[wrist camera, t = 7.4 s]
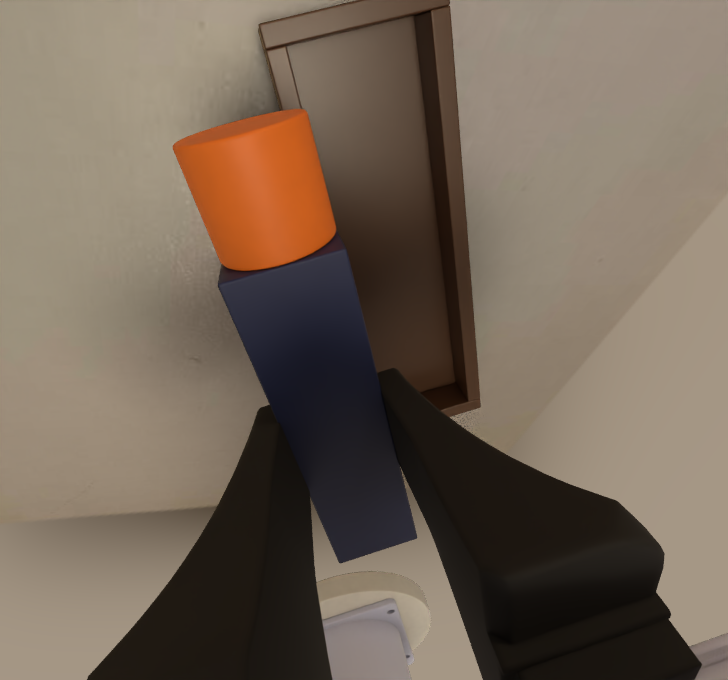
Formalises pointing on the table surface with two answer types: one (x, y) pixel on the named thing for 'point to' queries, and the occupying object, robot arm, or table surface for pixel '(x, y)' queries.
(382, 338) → the pen tray
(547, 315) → the table surface
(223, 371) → the table surface
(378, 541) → the marker
